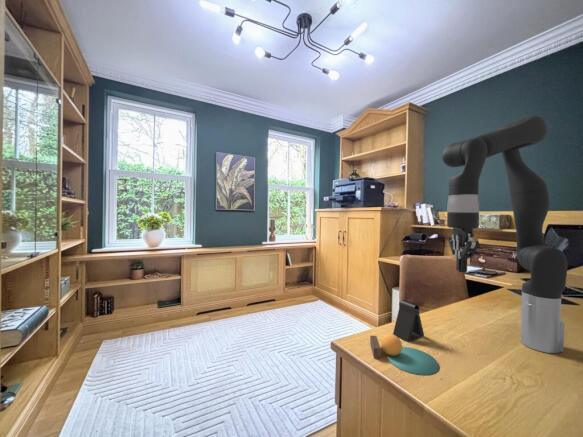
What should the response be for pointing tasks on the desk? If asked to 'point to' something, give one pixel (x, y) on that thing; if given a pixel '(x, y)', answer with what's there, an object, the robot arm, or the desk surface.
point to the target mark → (414, 361)
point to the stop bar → (375, 347)
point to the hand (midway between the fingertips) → (461, 271)
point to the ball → (391, 344)
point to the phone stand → (408, 322)
